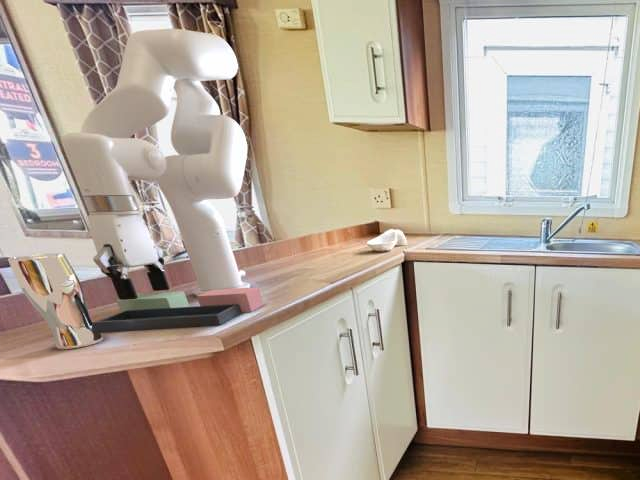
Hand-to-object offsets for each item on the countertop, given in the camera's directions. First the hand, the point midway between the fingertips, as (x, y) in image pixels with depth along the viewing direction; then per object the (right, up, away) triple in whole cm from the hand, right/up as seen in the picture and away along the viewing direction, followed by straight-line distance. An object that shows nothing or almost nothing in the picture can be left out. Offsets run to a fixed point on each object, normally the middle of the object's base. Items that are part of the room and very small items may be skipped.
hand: (146, 294), depth 89 cm
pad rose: (+16, -3, +4) cm, 17 cm away
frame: (+9, -6, -4) cm, 12 cm away
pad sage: (0, -4, +3) cm, 5 cm away
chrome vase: (+1, -12, -14) cm, 19 cm away
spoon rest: (+26, +38, +90) cm, 101 cm away
